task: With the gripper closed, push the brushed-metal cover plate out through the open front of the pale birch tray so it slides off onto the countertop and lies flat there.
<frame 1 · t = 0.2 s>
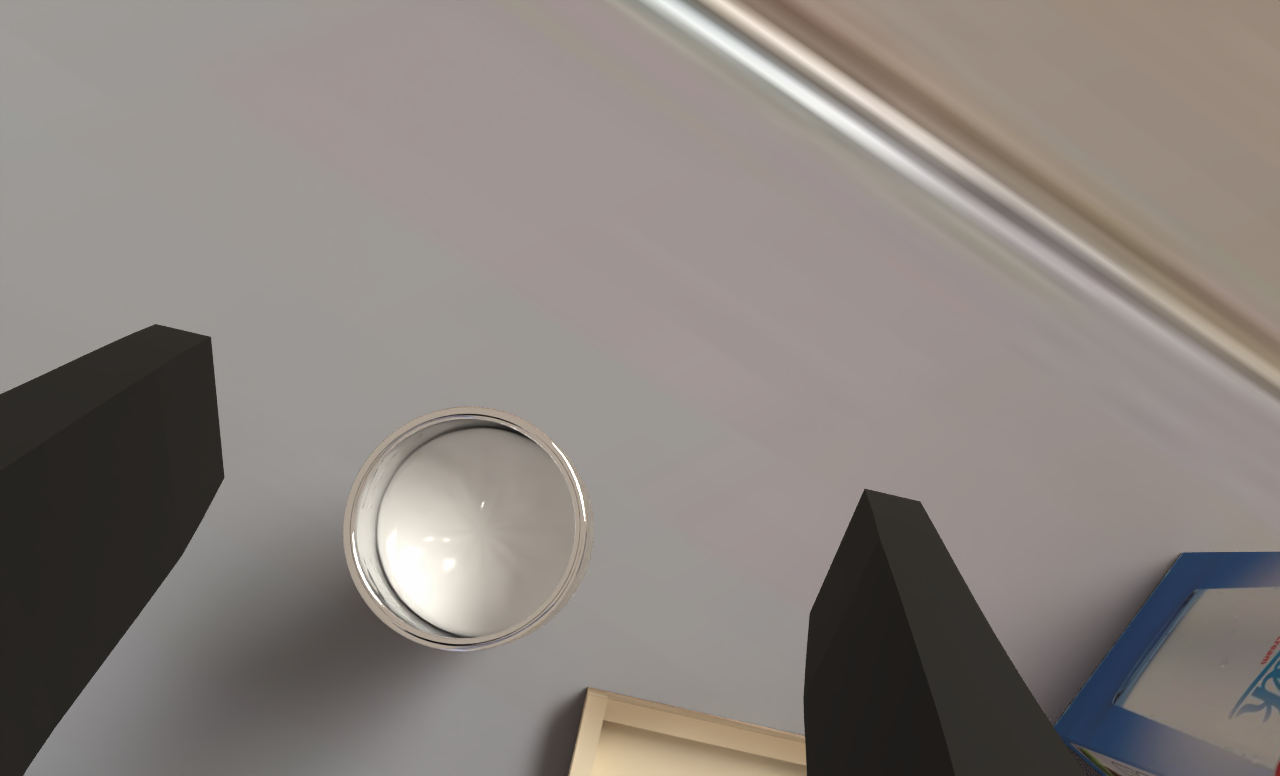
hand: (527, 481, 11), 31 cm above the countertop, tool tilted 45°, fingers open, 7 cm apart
milk carton: (1171, 688, 41), on the countertop
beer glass: (509, 537, 41), on the countertop
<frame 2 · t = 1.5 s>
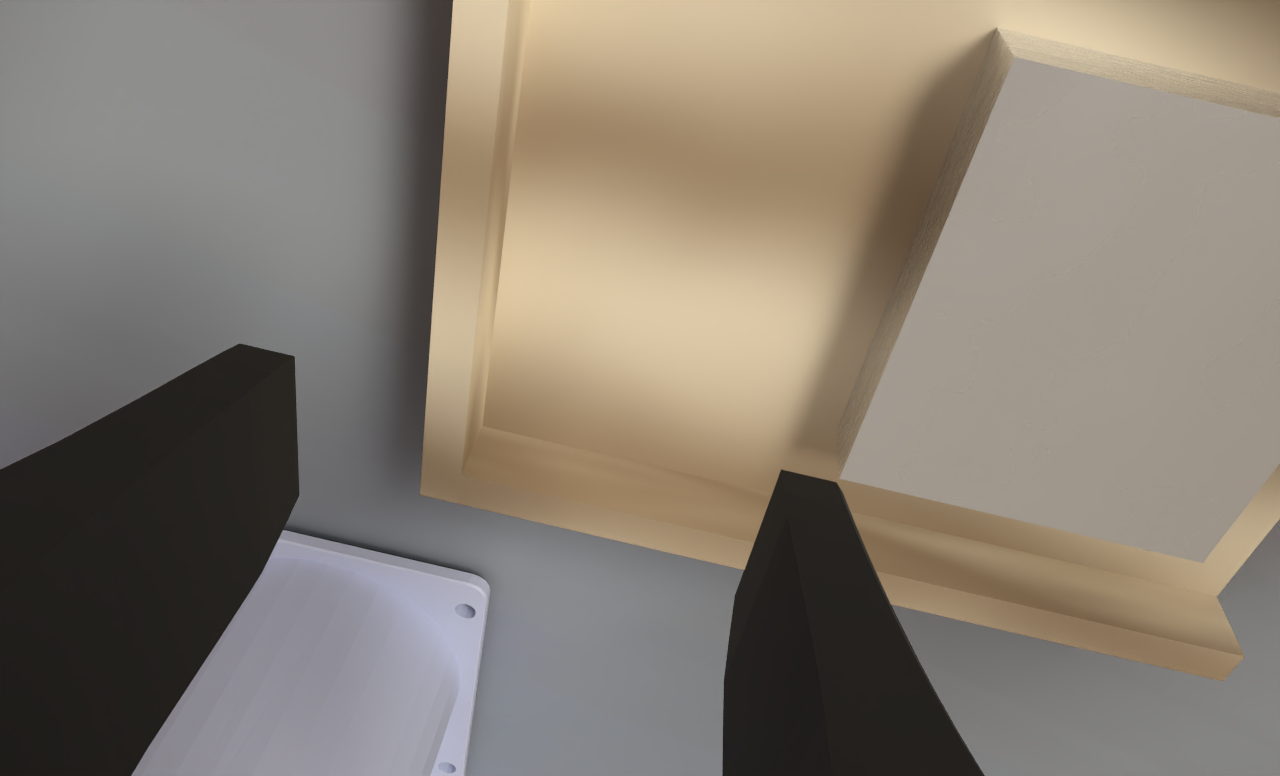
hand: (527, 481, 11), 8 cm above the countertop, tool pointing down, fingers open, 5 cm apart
cover plate: (1099, 301, 17), point 1 cm above the countertop, touching tray
tray: (929, 247, 17), on the countertop
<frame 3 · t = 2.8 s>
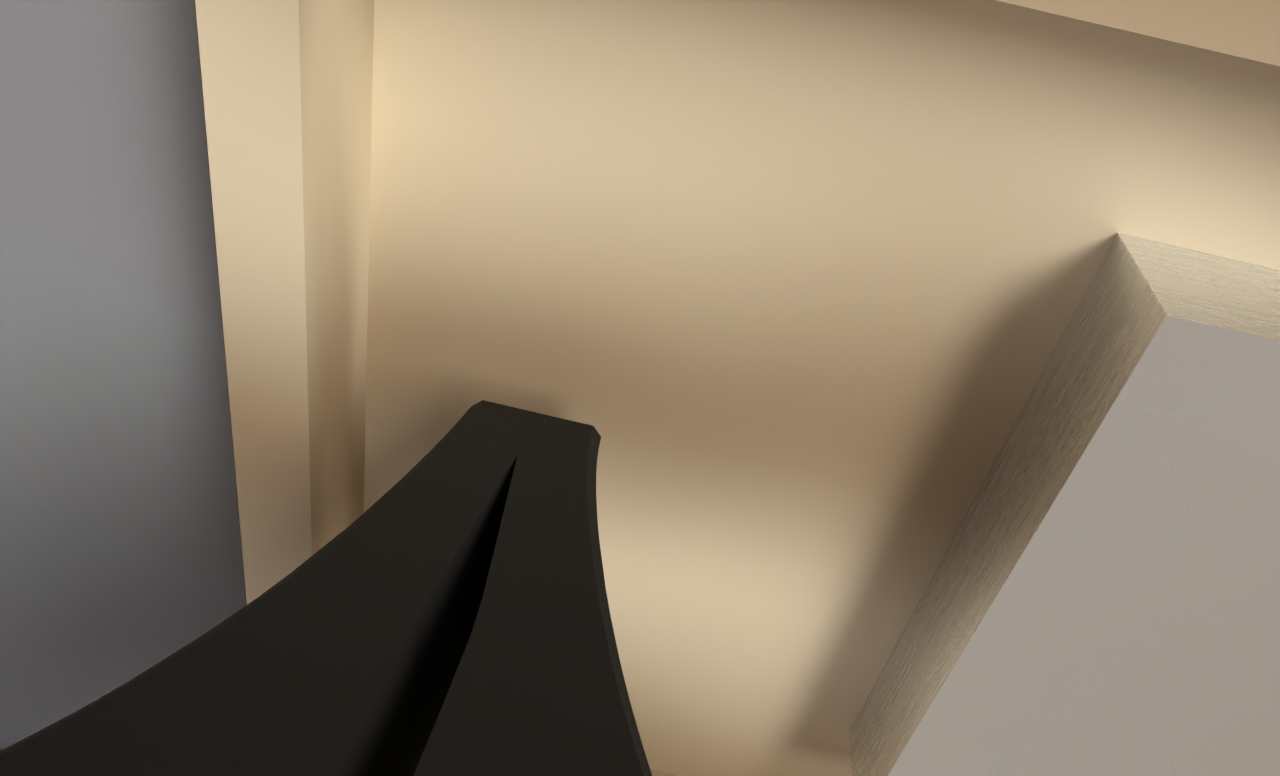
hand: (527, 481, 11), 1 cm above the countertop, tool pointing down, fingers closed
cover plate: (1246, 600, 11), point 1 cm above the countertop, touching tray
tray: (989, 508, 12), on the countertop
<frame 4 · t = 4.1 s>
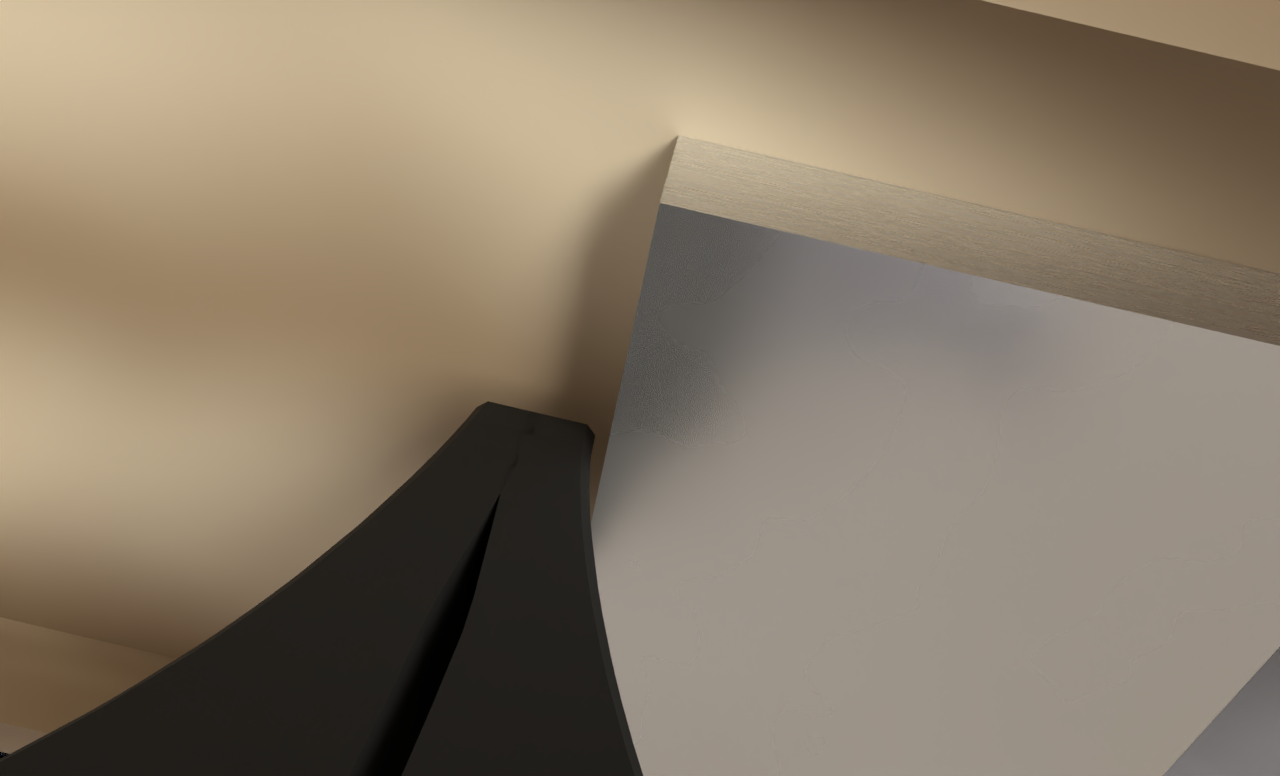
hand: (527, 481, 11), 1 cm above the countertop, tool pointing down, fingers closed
cover plate: (898, 522, 11), point 1 cm above the countertop, touching gripper, tray
tray: (505, 396, 12), on the countertop
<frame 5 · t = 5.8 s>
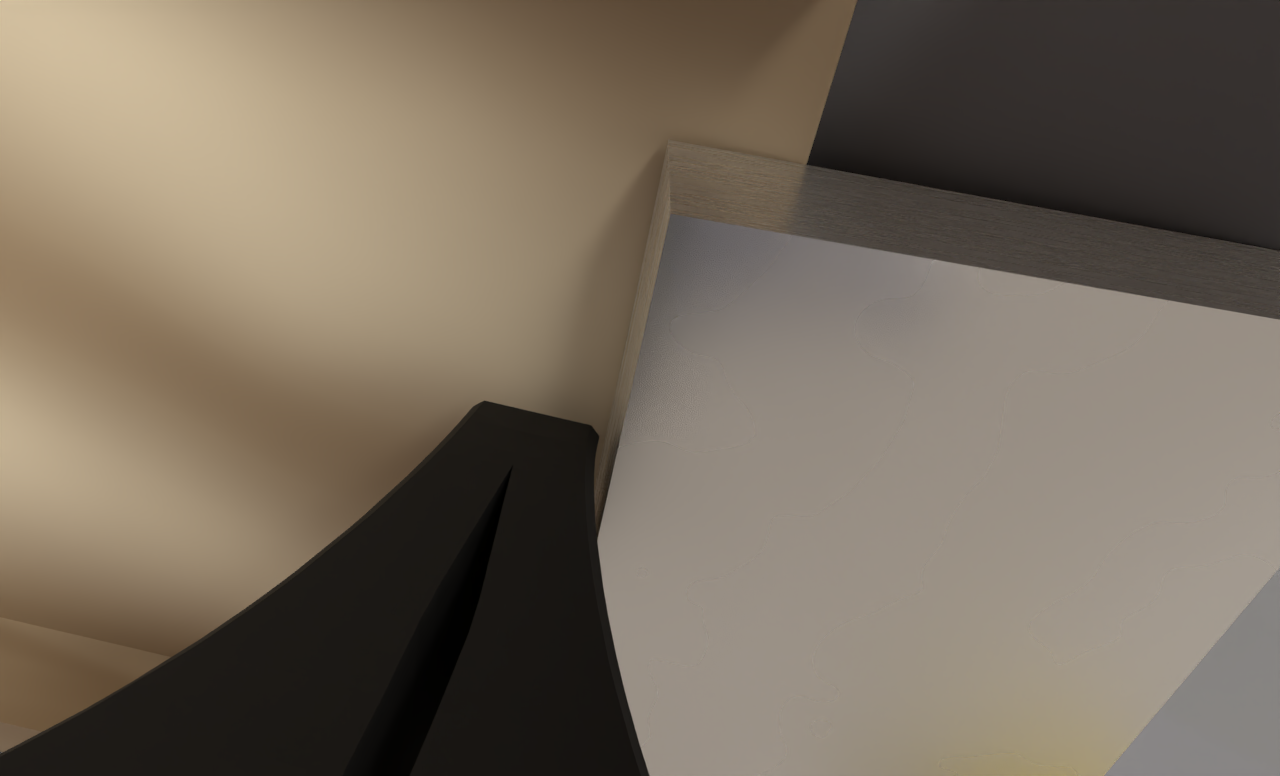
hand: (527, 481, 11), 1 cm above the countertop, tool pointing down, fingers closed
cover plate: (888, 504, 12), on the countertop, tilted 7°, touching gripper
tray: (45, 288, 12), on the countertop
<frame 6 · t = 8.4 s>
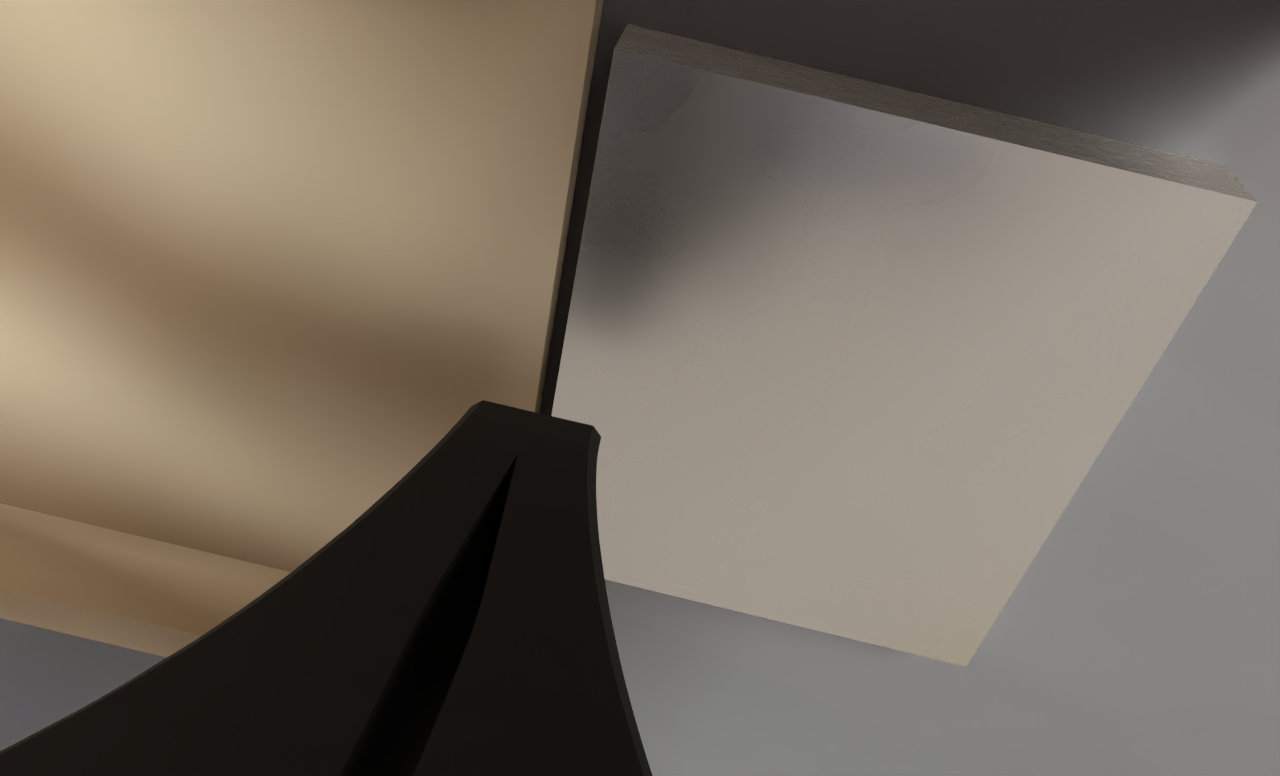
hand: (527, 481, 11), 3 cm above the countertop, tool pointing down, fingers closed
cover plate: (821, 352, 14), on the countertop
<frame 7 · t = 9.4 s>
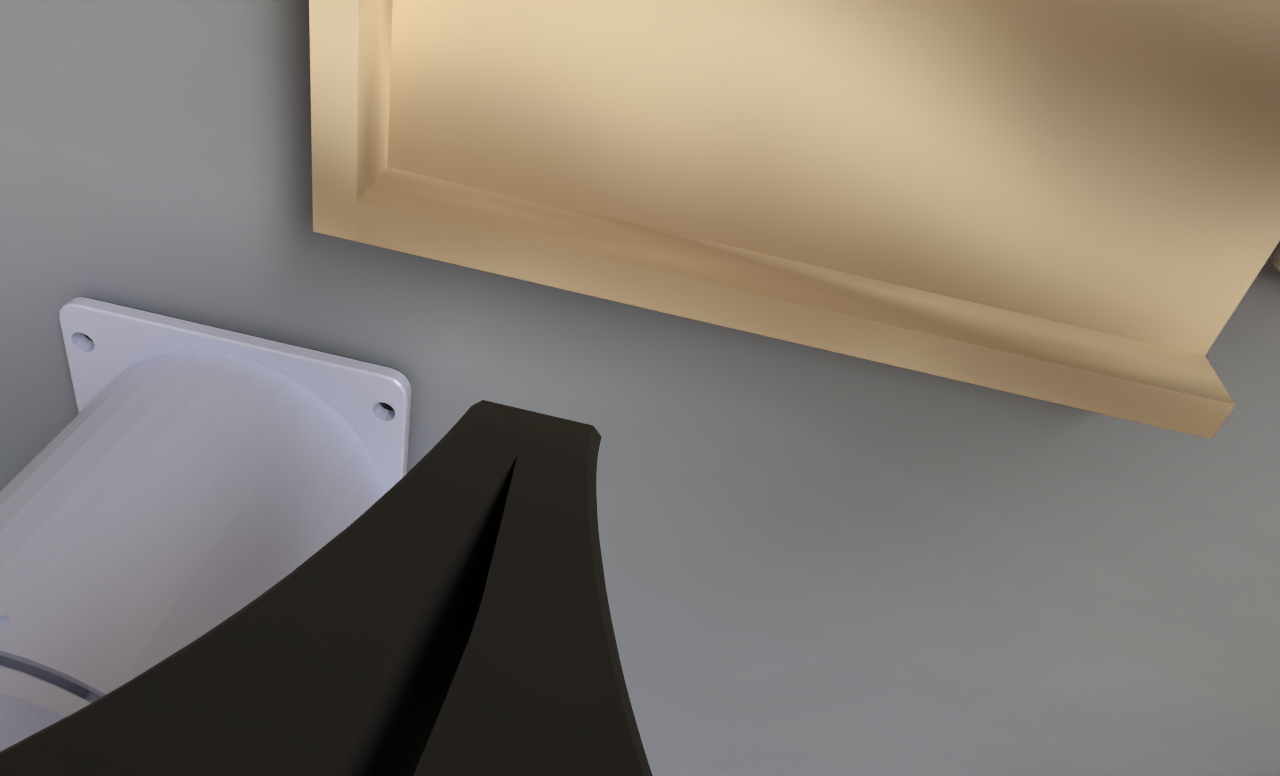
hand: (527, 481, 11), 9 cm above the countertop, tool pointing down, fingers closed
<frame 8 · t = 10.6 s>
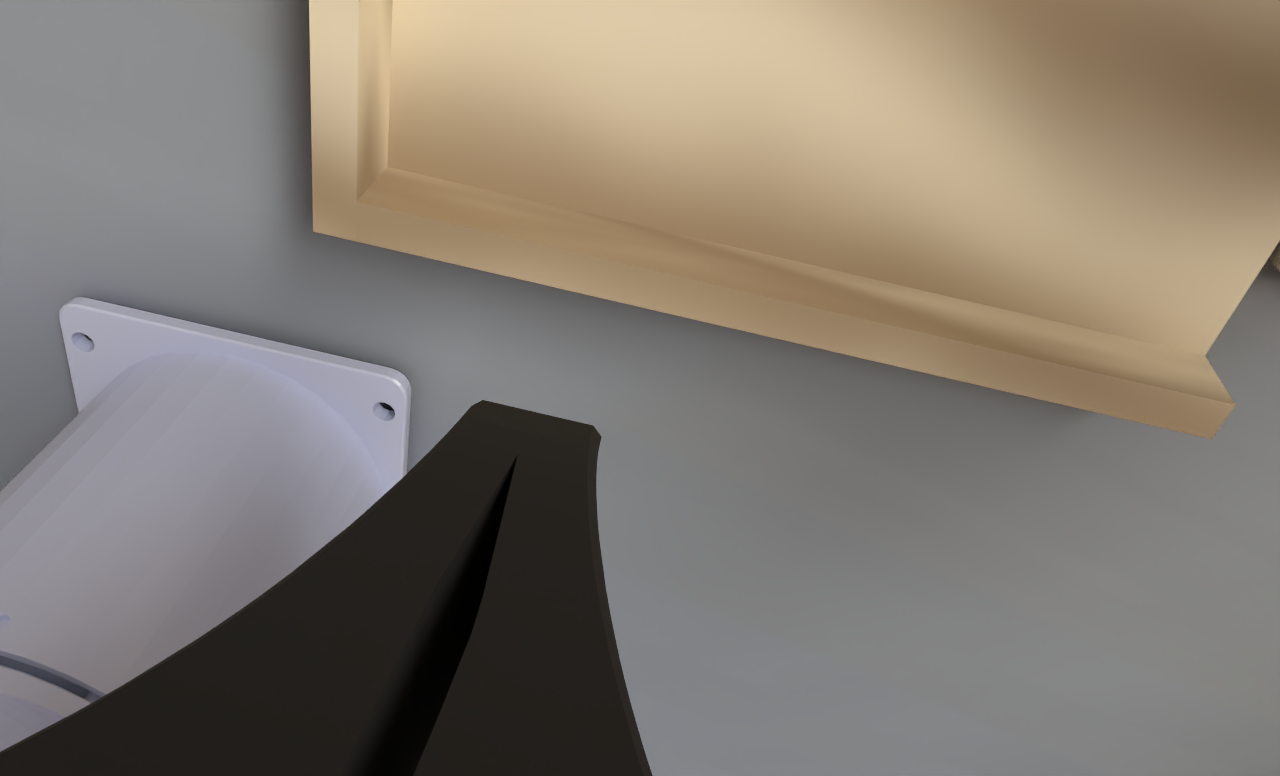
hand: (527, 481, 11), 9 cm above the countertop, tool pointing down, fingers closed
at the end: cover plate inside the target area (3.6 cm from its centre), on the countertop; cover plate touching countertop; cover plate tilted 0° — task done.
